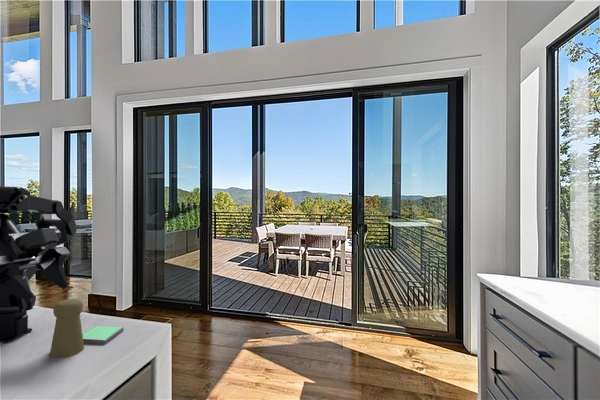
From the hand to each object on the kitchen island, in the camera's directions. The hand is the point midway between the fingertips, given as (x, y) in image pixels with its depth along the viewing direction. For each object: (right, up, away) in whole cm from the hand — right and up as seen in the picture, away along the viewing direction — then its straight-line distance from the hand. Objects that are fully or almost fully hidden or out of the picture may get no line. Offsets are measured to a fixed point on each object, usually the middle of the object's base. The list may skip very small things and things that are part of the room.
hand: (49, 292), depth 69 cm
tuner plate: (+6, -12, +7) cm, 16 cm away
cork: (+4, -13, 0) cm, 13 cm away
